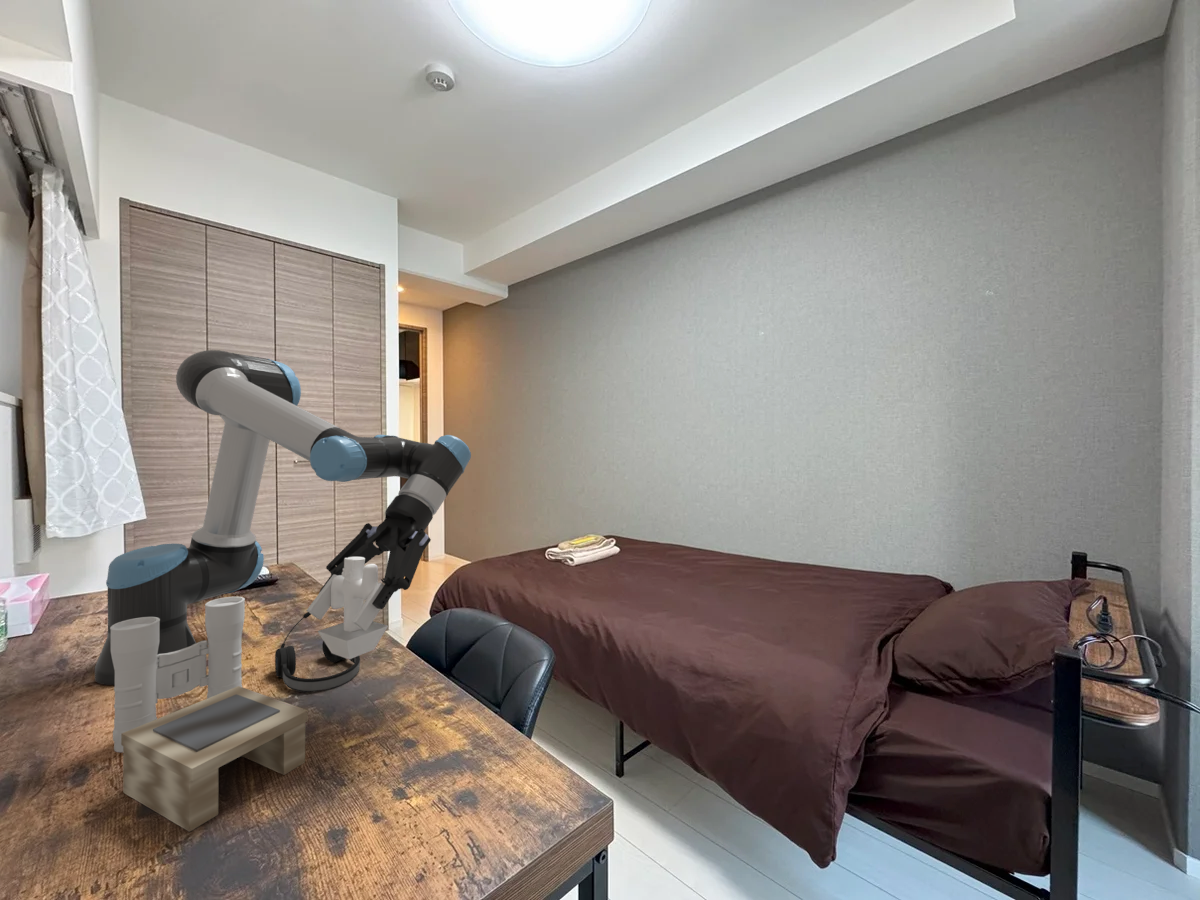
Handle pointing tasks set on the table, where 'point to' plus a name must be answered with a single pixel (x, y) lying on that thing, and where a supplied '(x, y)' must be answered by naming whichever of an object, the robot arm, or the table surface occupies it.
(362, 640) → the figurine
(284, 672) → the headset
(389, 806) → the table surface
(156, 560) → the robot arm
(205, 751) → the bridge shelf
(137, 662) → the binoculars
